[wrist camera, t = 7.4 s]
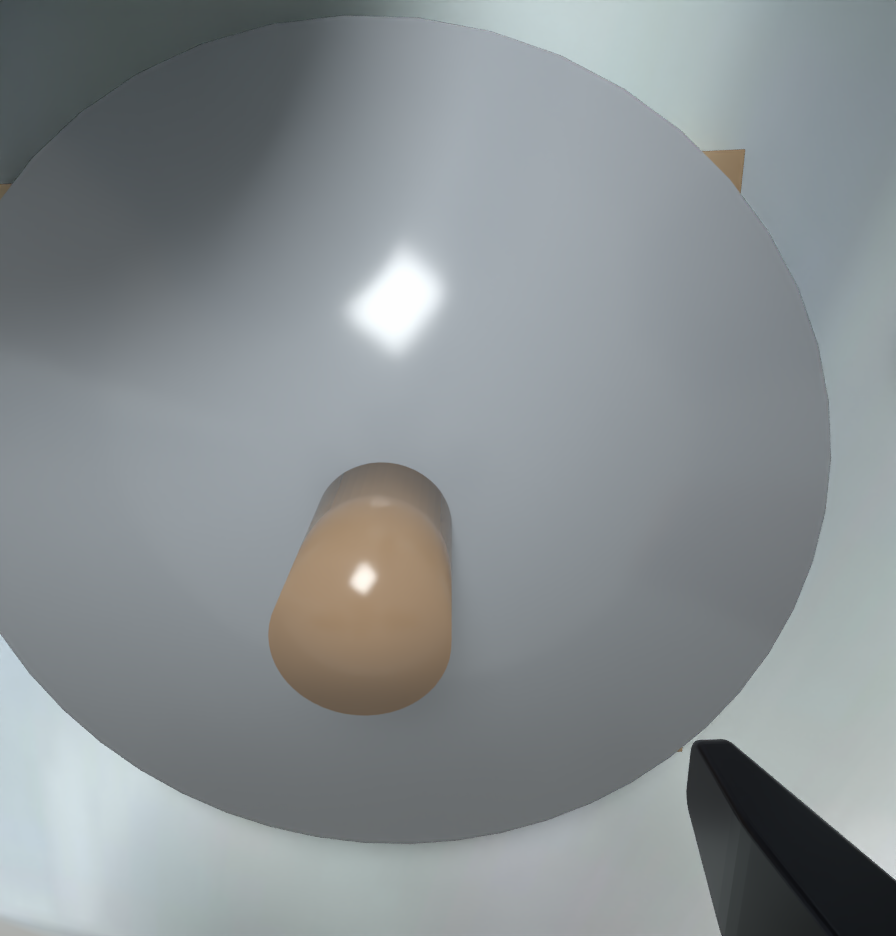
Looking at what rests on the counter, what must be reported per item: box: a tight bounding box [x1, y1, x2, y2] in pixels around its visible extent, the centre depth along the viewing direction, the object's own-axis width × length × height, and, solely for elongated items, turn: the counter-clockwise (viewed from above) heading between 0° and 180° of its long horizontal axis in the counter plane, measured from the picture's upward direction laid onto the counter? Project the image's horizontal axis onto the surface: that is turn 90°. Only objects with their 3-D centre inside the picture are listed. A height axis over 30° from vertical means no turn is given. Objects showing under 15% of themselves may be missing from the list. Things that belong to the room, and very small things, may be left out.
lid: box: [0, 15, 831, 844], centre depth 13 cm, size 18×18×5 cm
